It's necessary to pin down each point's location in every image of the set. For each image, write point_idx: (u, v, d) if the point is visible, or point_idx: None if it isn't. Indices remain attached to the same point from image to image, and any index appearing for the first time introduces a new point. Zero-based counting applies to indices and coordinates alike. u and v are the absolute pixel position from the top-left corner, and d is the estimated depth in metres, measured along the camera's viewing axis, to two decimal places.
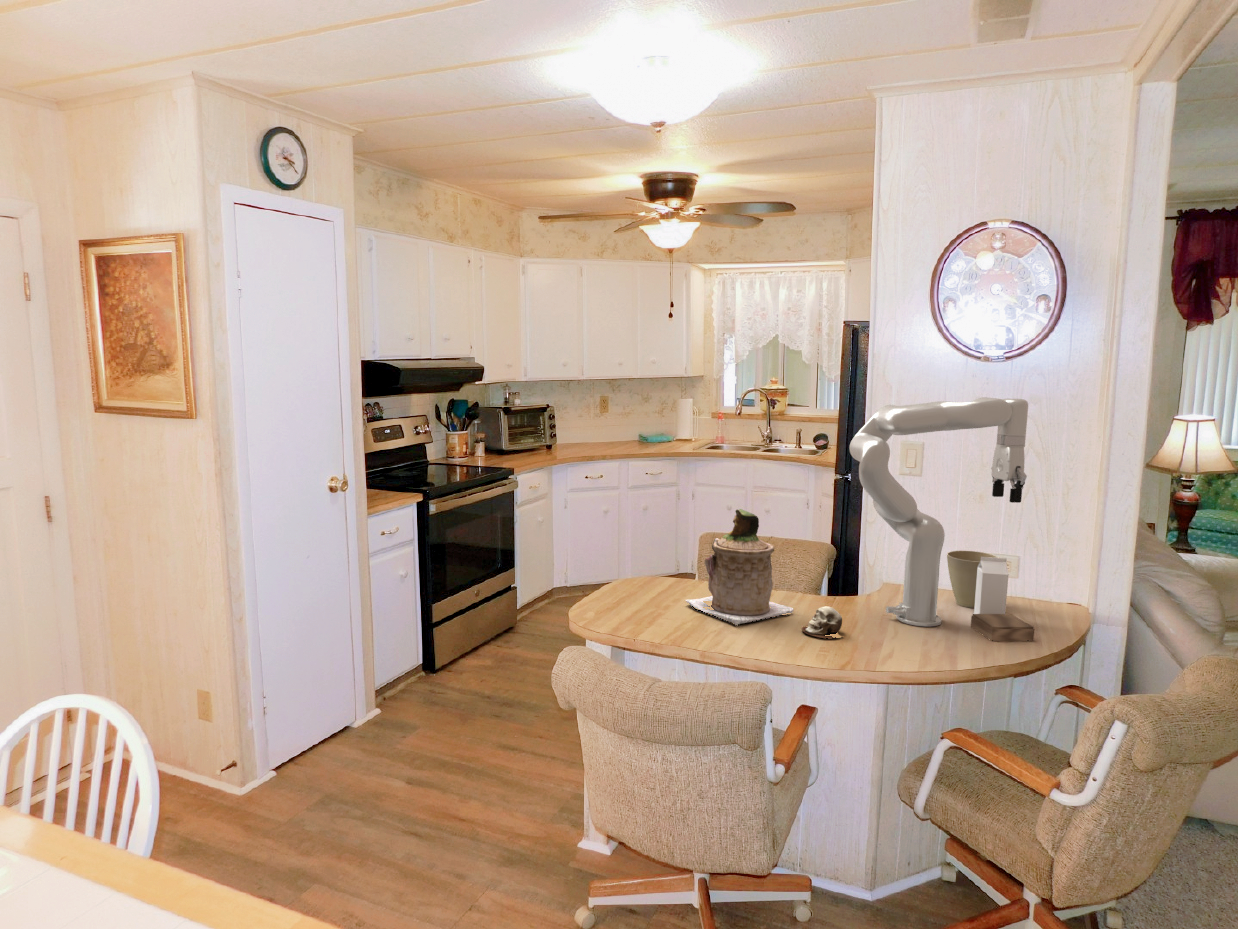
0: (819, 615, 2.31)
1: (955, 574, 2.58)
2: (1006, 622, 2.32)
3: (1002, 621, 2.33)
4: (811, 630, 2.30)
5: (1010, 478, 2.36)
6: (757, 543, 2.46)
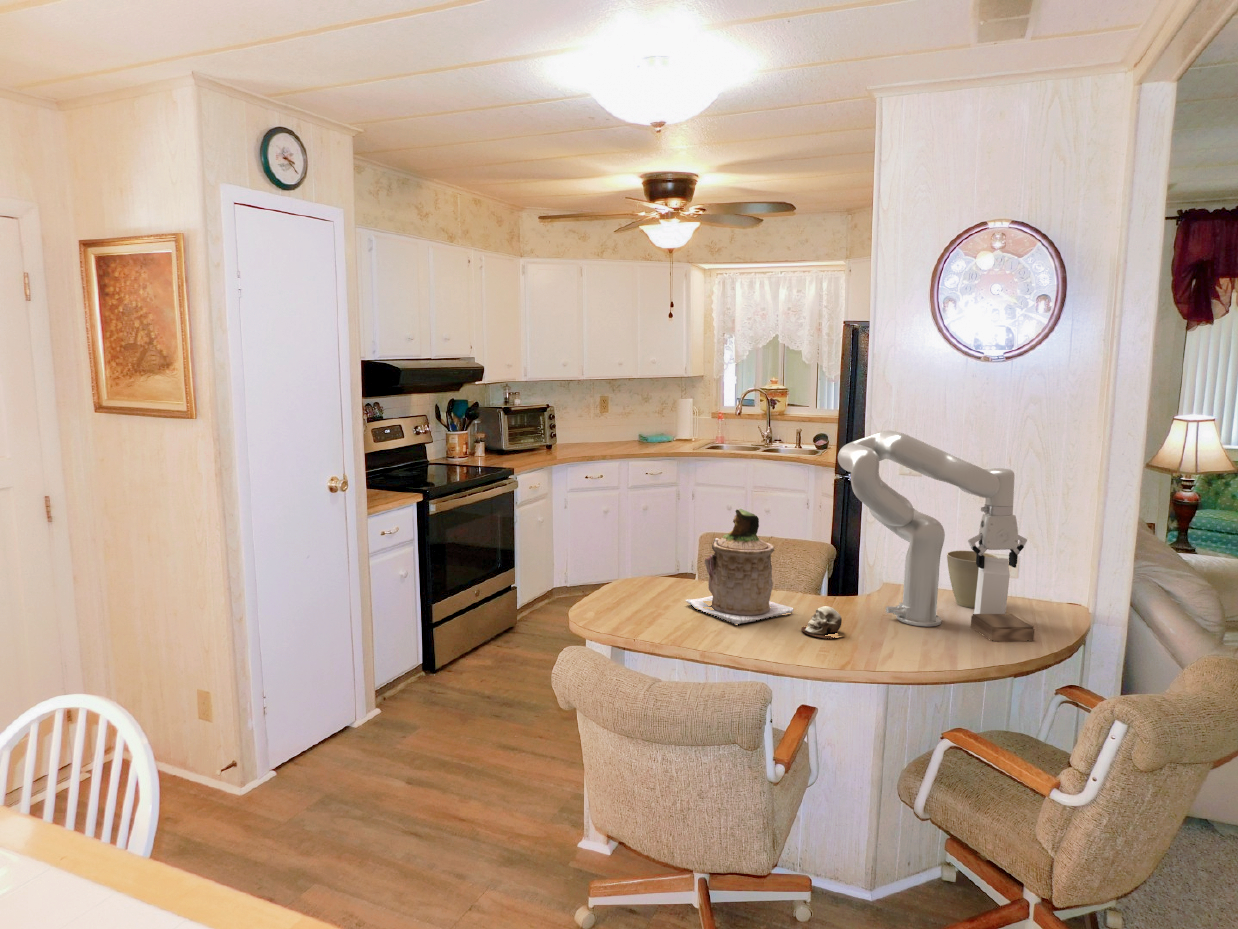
0: (818, 615, 2.31)
1: (955, 574, 2.58)
2: (1006, 622, 2.32)
3: (1002, 621, 2.33)
4: (811, 629, 2.30)
5: None
6: (757, 543, 2.46)
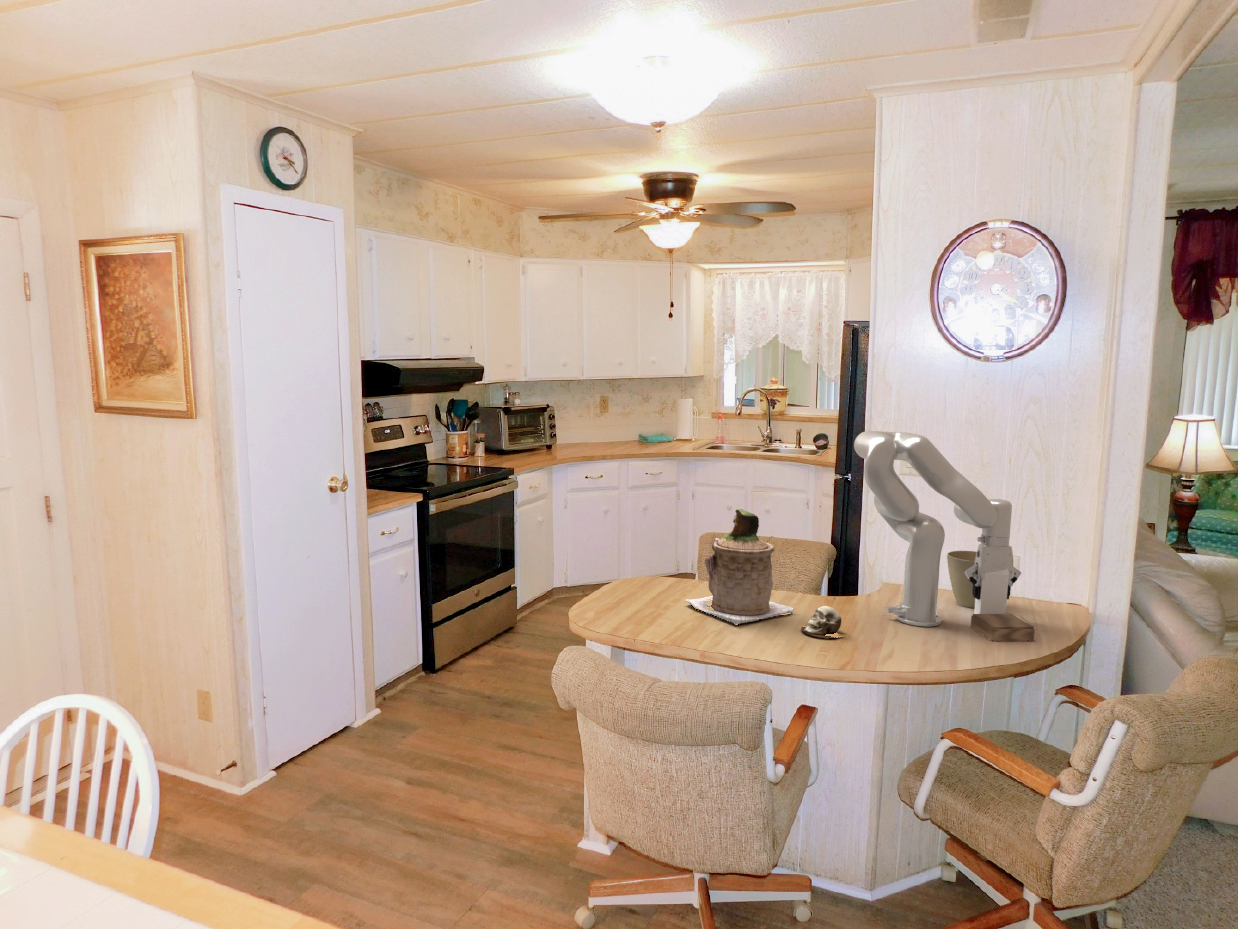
0: (818, 615, 2.31)
1: (955, 574, 2.58)
2: (1006, 622, 2.32)
3: (1002, 621, 2.33)
4: (811, 629, 2.30)
5: None
6: (757, 543, 2.46)
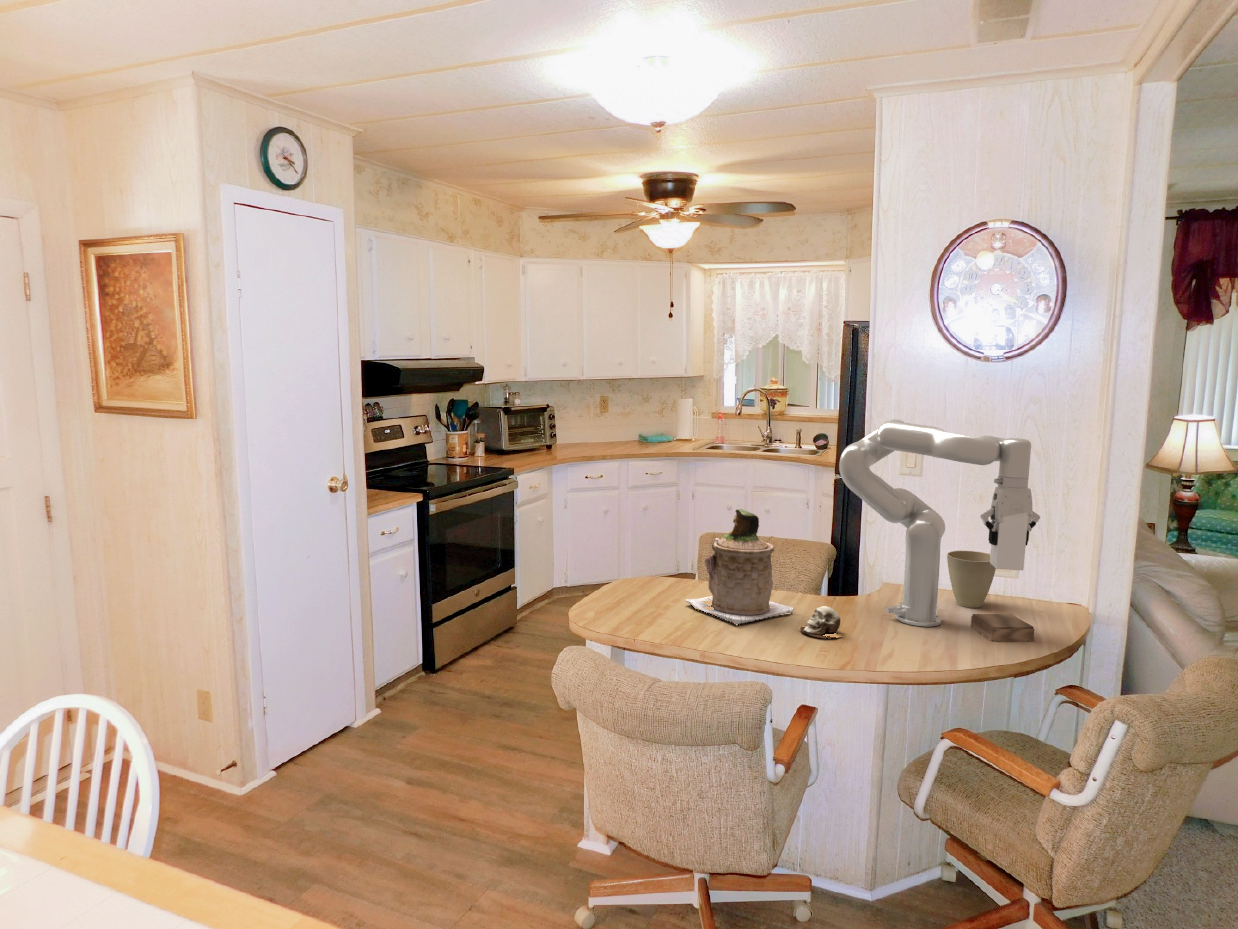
0: (817, 615, 2.31)
1: (955, 574, 2.58)
2: (1006, 622, 2.32)
3: (1002, 621, 2.33)
4: (810, 629, 2.30)
5: None
6: (757, 543, 2.46)
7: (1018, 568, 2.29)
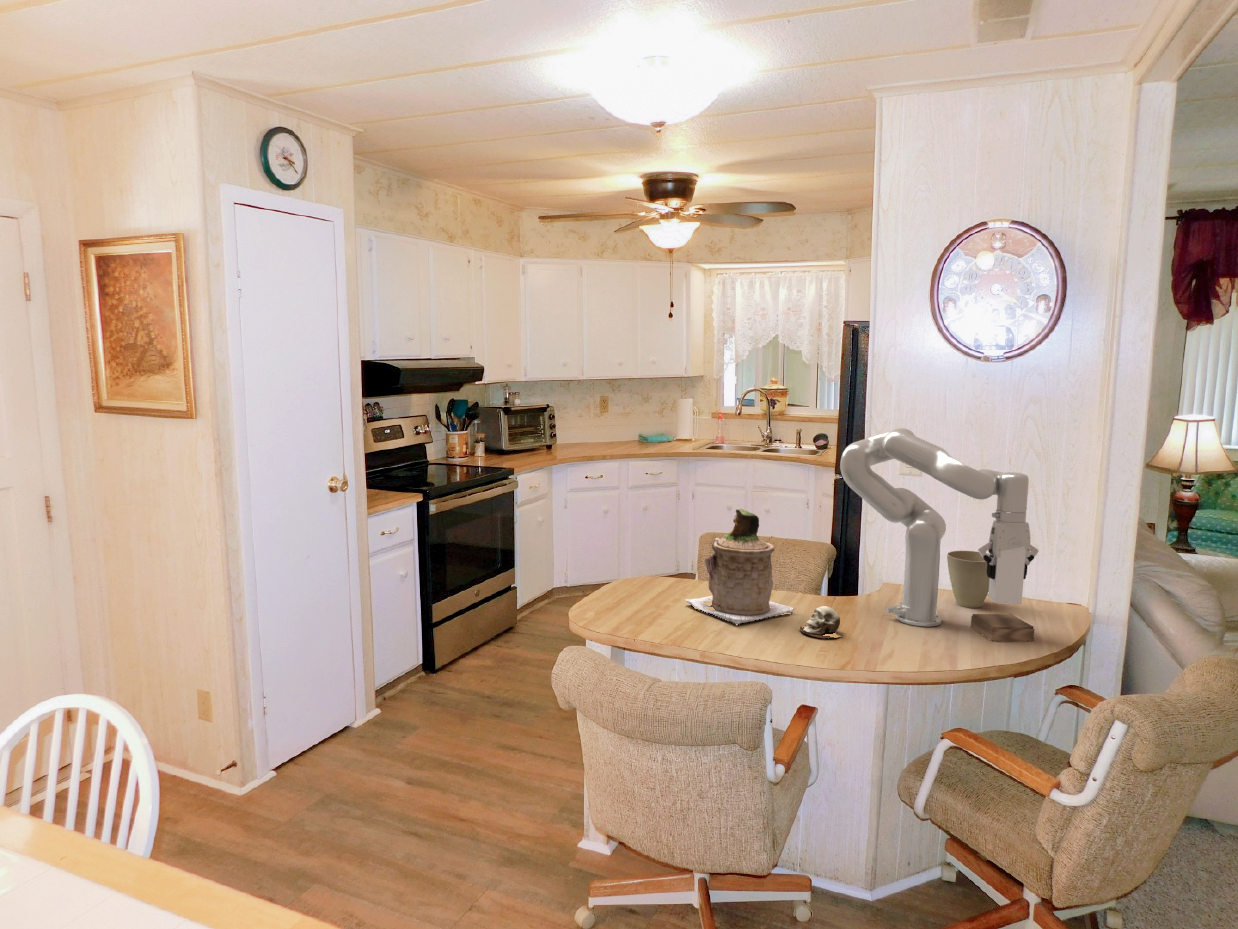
0: (817, 615, 2.31)
1: (955, 574, 2.58)
2: (1006, 622, 2.32)
3: (1002, 621, 2.33)
4: (809, 629, 2.30)
5: None
6: (757, 543, 2.46)
7: (1016, 602, 2.29)
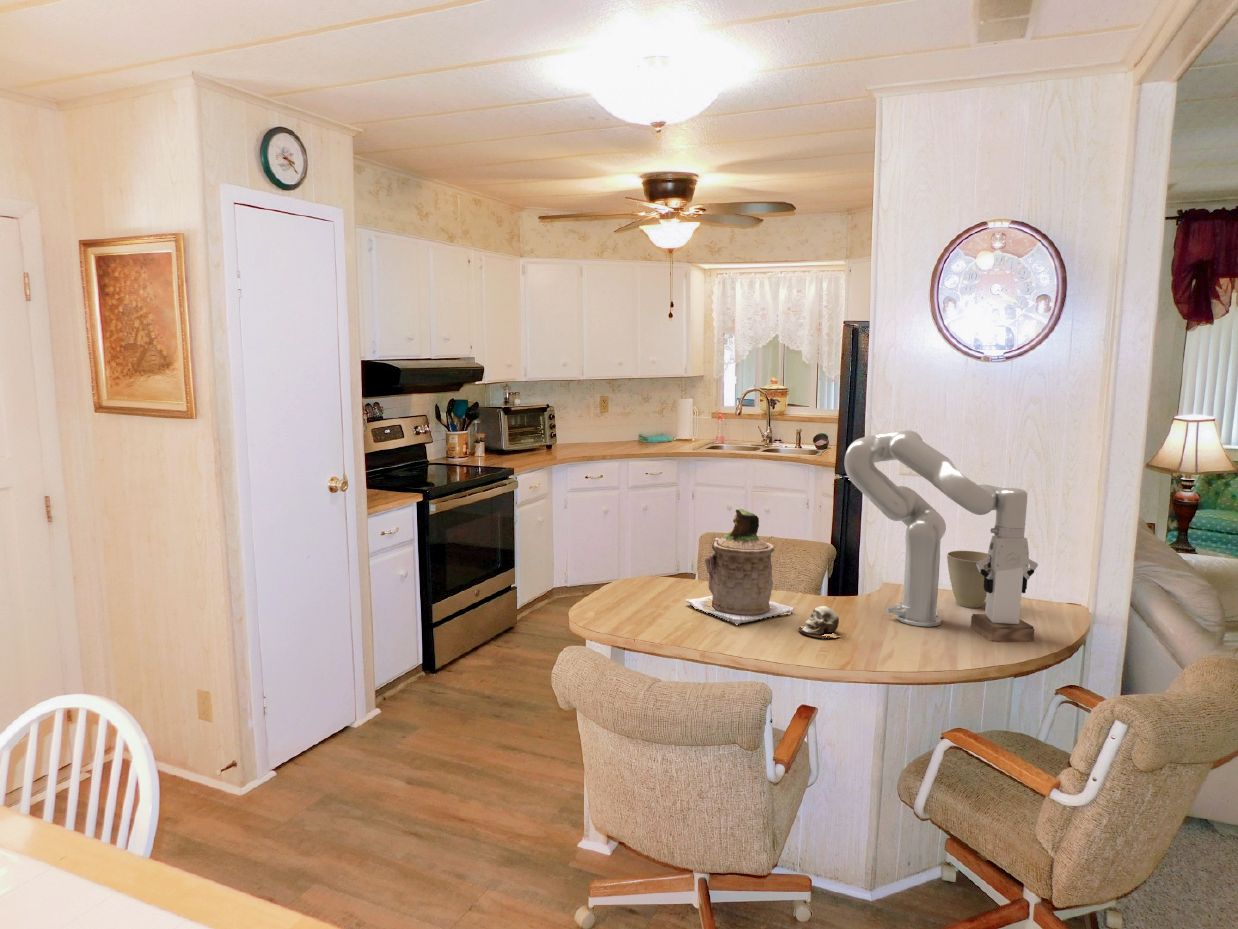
0: (816, 615, 2.31)
1: (955, 574, 2.58)
2: None
3: None
4: (808, 629, 2.30)
5: None
6: (757, 543, 2.46)
7: (1014, 622, 2.30)
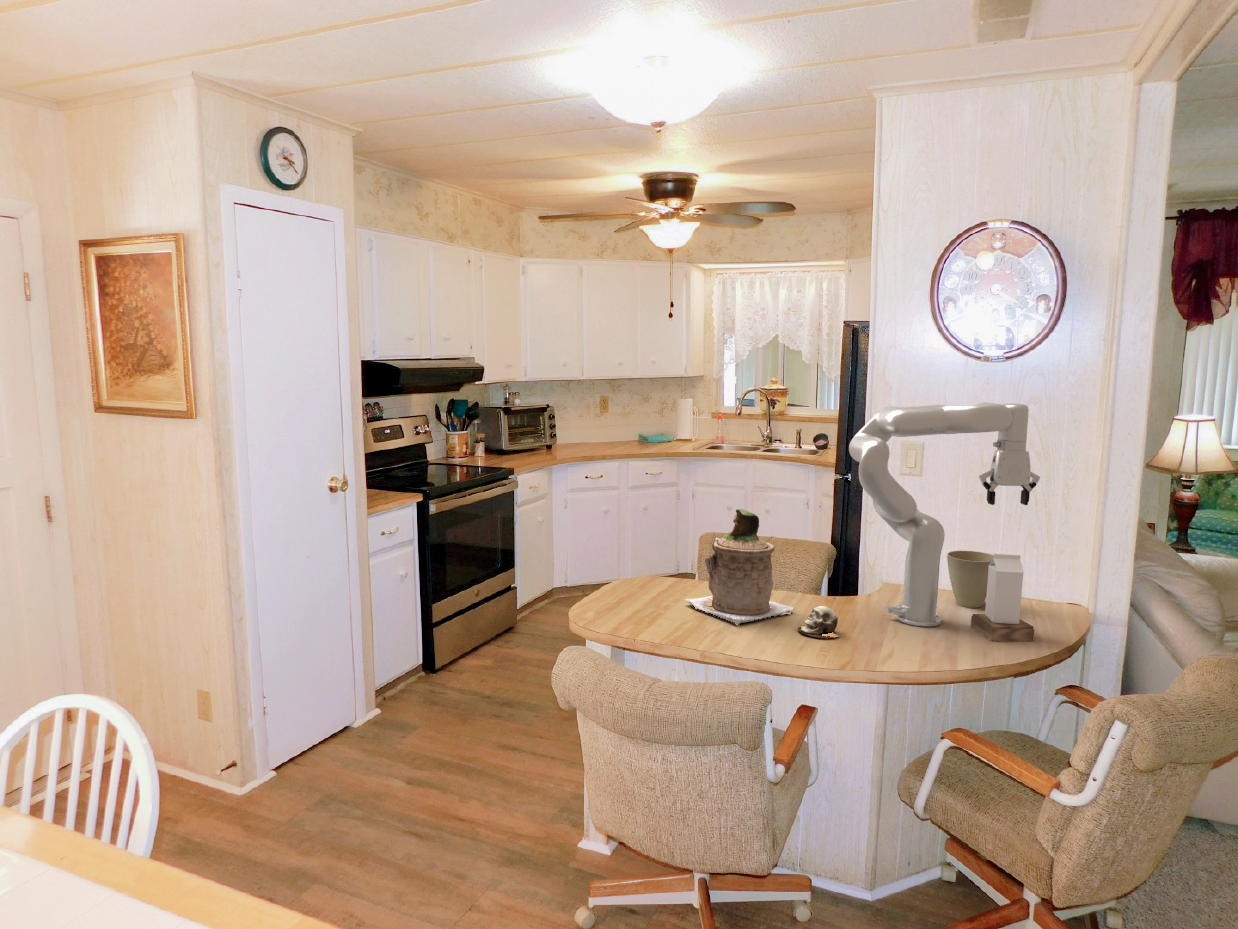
0: (815, 615, 2.31)
1: (955, 574, 2.58)
2: None
3: None
4: (807, 629, 2.30)
5: None
6: (757, 543, 2.46)
7: (1014, 622, 2.30)
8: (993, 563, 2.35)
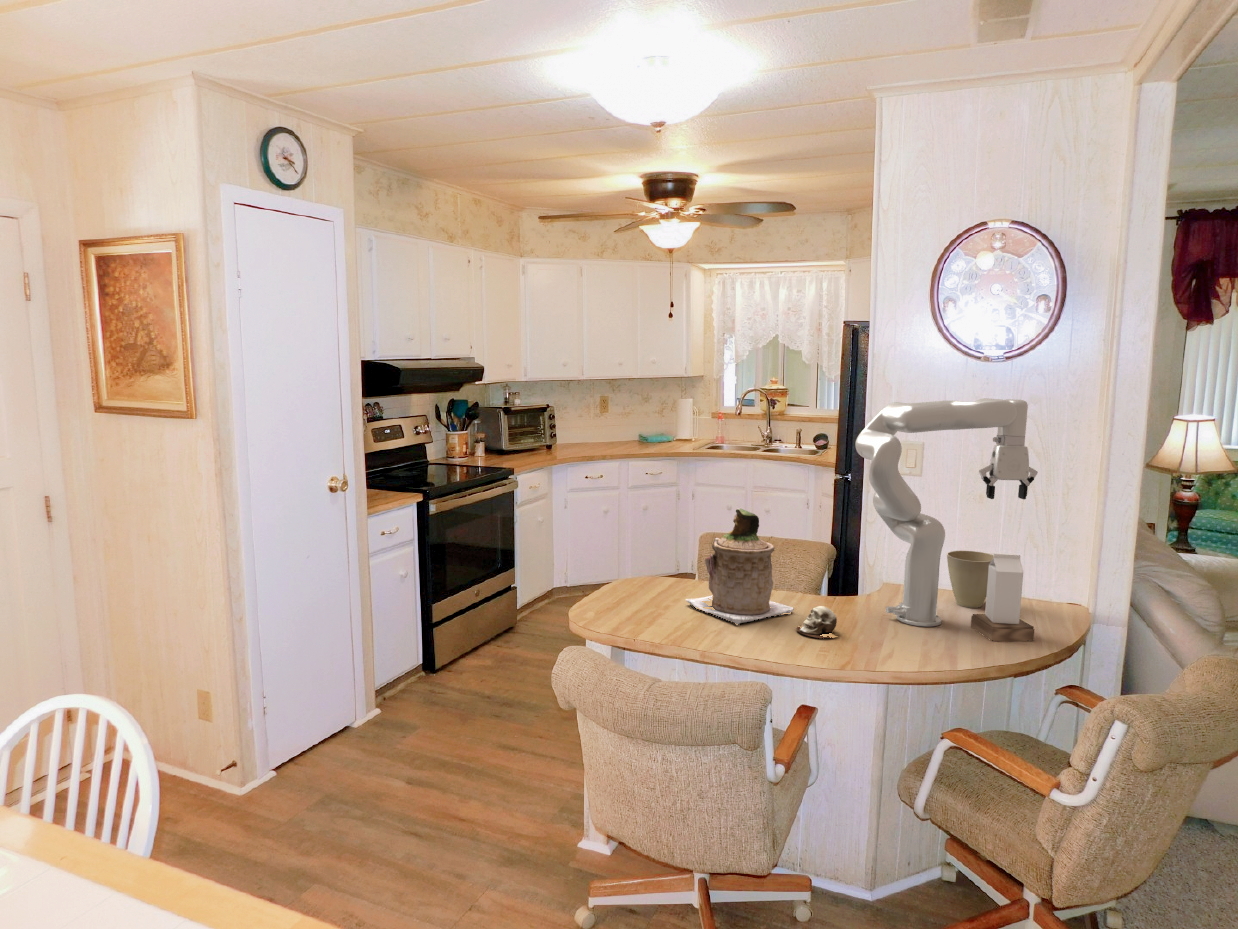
0: (814, 615, 2.31)
1: (955, 574, 2.58)
2: None
3: None
4: (806, 629, 2.30)
5: None
6: (757, 543, 2.47)
7: (1014, 622, 2.30)
8: (993, 563, 2.35)
